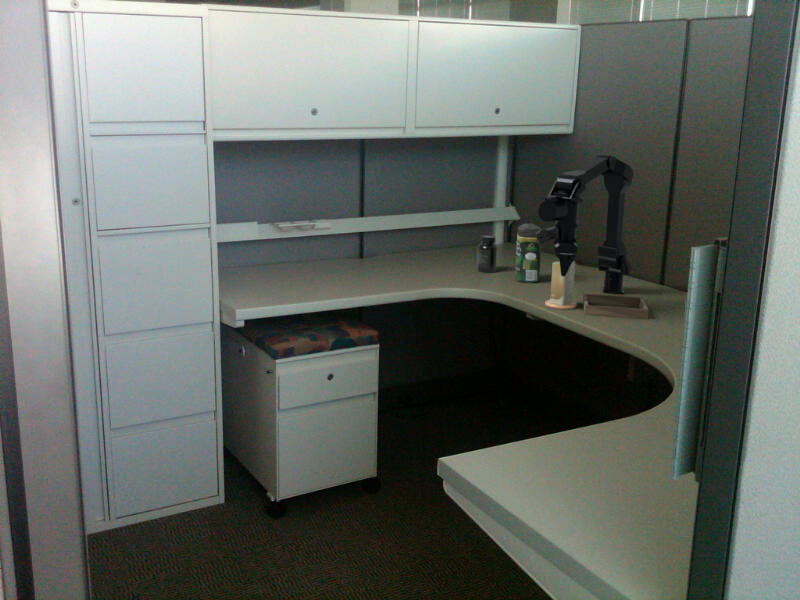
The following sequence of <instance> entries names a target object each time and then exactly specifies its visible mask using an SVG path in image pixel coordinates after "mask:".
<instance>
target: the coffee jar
mask: <svg viewBox="0 0 800 600" xmlns="http://www.w3.org/2000/svg"><path fill="white" fill-rule="evenodd" d="M540 229H541V230H542V228H541V227H539V226H538V225H536V224H535V223H522V224H521V225H519V226H518V227H517V234H516V236H517V237H516V248H515V267H514V269H515V270H514V278H515V280H517V281H518V282H522V283H526V284H527V283H528V284H532V283H537V282H539V281H540V271H541V259H542V258H541V256H542V255H541V254H542V244H538V241H537V237H536V232H537V231H539V230H540Z"/></svg>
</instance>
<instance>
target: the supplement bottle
mask: <svg viewBox="0 0 800 600" xmlns="http://www.w3.org/2000/svg"><path fill="white" fill-rule="evenodd" d="M498 251H499V248H498V245H496V236H493V235H482V236H481V239H480V244H479V245H478V246H477V254H476V255H477V257H476V271H477V272H481V273H485V274H486V273H488V274H489V273H496V272H497V269H498Z"/></svg>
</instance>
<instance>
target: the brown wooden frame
mask: <svg viewBox="0 0 800 600" xmlns="http://www.w3.org/2000/svg"><path fill="white" fill-rule="evenodd" d="M591 304H600V305H591ZM601 304H603V305H602V306H601ZM605 305H613V306H605ZM616 305H618V306H630V307H618V306H616ZM582 306H583V307H582V308H583V313H584V315H585V316H587V315H588V316H602V317H603V316H604V317H617V318H631V319H644V320H645V319H646V320H648V319H649V308H648V306H647V304H646V302H645V300H644V297H642V296H641V297H639V296H627V295H609V294H594V293H582ZM615 306H616V307H615ZM631 306H632V307H639V308H632V307H631Z"/></svg>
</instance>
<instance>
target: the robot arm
mask: <svg viewBox="0 0 800 600" xmlns="http://www.w3.org/2000/svg"><path fill="white" fill-rule="evenodd" d="M600 176H602V177H603V181H602V182H603V186H604V188H605V189H606V192H607V195H608V196H607V207H606V209H607V210H606V223H605V236H604V237H605V238H604V239H605V240H604V241H603V243H602V244H601V245H599V246H598V248H597V257H596V259H597V264H598V271H599V272H604V279H603V286H601V291H602V293H606V294H622V295H624V294H625V291H624V288H623V283H624V276H629V274H631V271H632V265H631V262H630V261H629V259H628V256H627V255H628V254H627V251H628V250H627V248H626V246H625V243H624V242H623V230H624V229H623V227H624V213H625V202H626V201H625V200H626V199H625V198H626V193H627V192H628V191H629V189H630V188H631V186H632V182H633V181H632V180H633V177H634V169H633V168H632V167H631V166H630V164H627V163H626V162H623V161H622V160H619V159H618V158H616V157H615V155H611V154H602V153H601V154H598V155H597V156H595V158H593V159H592V160H590V161H589V162H587V163H585V164H584V165H583V166H581V167H580V168H578V169H575V170H571V171H565V172H562V173H560V174H559V175H558V176H557V177H556V178H555V181H554V184H553V185H552V187H551V189H550V191H549V193H548V195H547V196H545V197H544V201H542V202H541V203H540V205H539V206H538V209H537V210H538V211H537V213H538V217H539V218H540V220H542V221H543V222H545V223H549V222H555V223H554V226H550V227H547V228H545V227H544V228H543V229H542V228H541V229H542V230H541V229H540V230H539V231H537V232H536V237H537V241H538V244H541V245H543V244H544V243H546V242H549V241H552V240H553V253H554V256H556V257H557V258H558V261H560V270H561V276H566V274H567V272H568V270H569V268H570V266H571V264H572V262H573V261H574V260H575V258H576V256H577V254H578V245H577V229H578V217H579V205H580V203H581V204H582V203H583V201H584V200H583V198H582V197H581V196H580V195H582V194H583V193H584V192H585V191H586V190H587V187H588V186H587V185H588V184H589V183H591V182H592V181H593V180H596V179H597V178H598V177H600Z"/></svg>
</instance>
